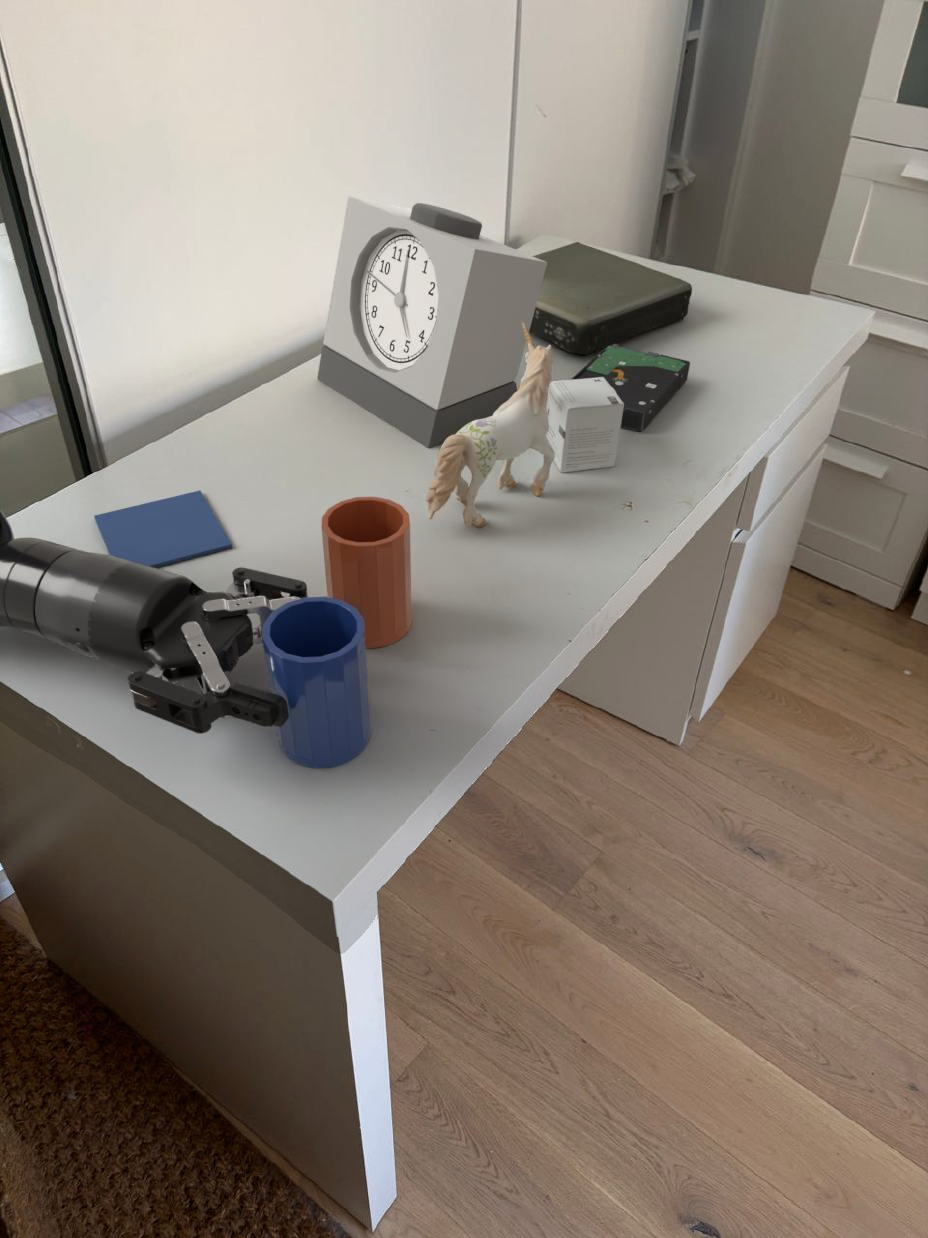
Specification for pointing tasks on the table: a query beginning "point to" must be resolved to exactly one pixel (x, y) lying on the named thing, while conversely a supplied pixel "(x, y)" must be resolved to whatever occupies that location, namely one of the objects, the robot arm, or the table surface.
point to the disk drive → (638, 381)
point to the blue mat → (163, 531)
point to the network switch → (602, 299)
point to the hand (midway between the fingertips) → (317, 671)
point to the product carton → (583, 423)
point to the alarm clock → (426, 317)
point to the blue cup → (319, 679)
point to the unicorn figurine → (498, 441)
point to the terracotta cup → (370, 564)
